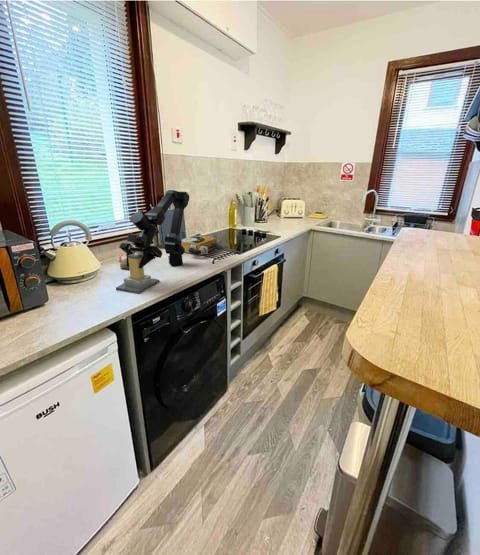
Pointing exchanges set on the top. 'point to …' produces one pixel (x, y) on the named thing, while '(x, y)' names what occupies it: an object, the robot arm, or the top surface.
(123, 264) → the sandal
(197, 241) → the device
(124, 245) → the robot arm
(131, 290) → the grey stepped base
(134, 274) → the tan upright block
